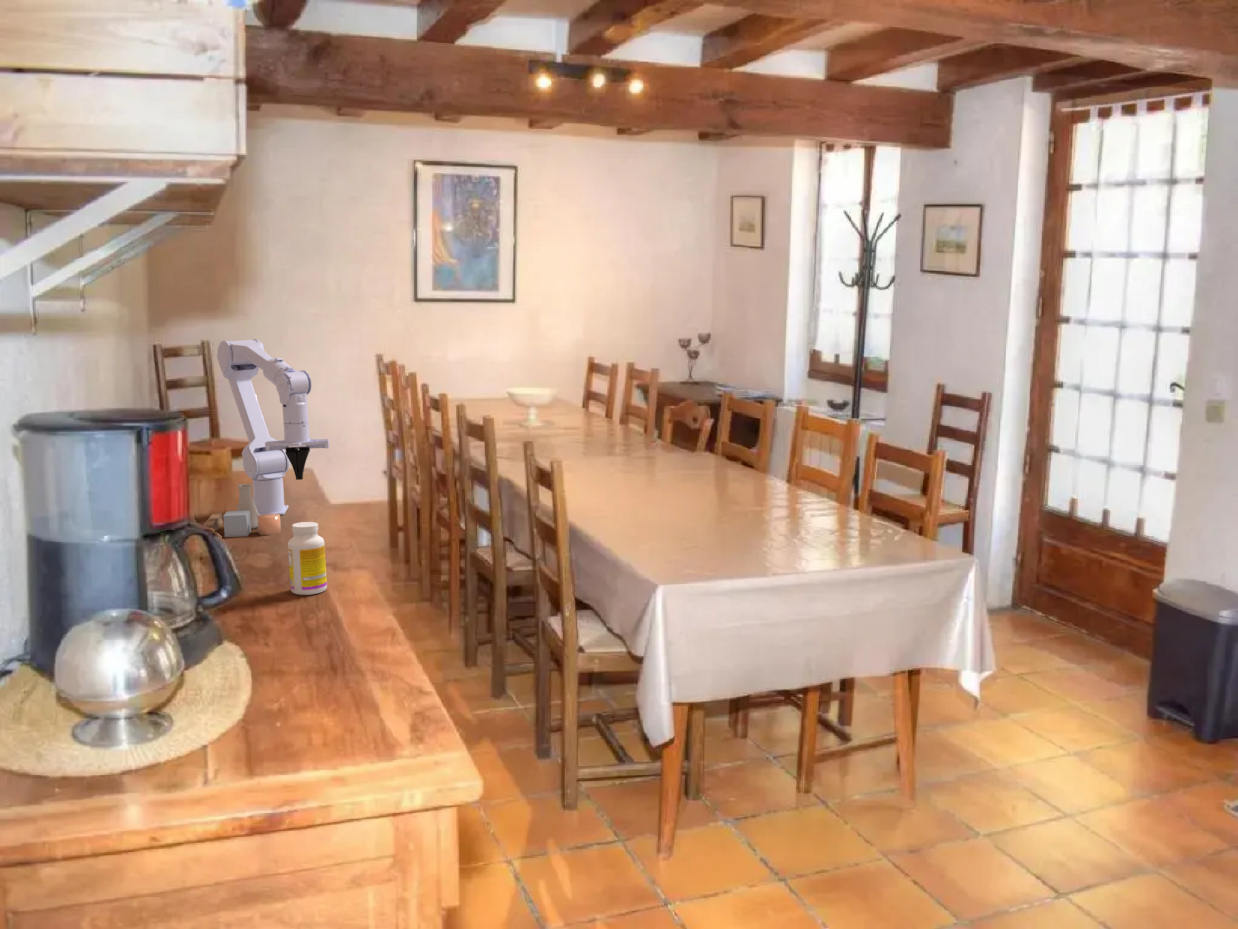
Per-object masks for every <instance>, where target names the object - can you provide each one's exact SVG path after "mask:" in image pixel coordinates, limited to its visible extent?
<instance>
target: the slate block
mask: <svg viewBox="0 0 1238 929" xmlns="http://www.w3.org/2000/svg"><path fill="white" fill-rule="evenodd" d="M222 519H223V530H224V538H230V537H231V538H233V537H234V538H235V537H248V536H250V533H251V531H252V529H251V522H250V510H247V511H236V510H229V511H226V512H225V513H224V514H223V515H222Z"/></svg>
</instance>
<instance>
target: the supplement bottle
mask: <svg viewBox="0 0 1238 929" xmlns="http://www.w3.org/2000/svg"><path fill="white" fill-rule="evenodd" d="M318 530H319V523H318V522H314V521H304V522H303V521H301V522H296V523H292V525H291V532H292V534H293V536H292V537H291V538H290V539H289V540H288V542H287V553H288V554H287V557H288V569H289V570H288V571H289V584H290V591H291V593H293V594H294V595H299V596H312V595H317V594H320V593H322V592H323V593H324V592H325V591H326V590H327V588H328V580H327V566H326V565H327V564H326V561H327V560H326V548H325V545H326V544H325V539H324V538H323V537H322V536H320V535H319V534H318Z"/></svg>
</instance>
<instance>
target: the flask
mask: <svg viewBox="0 0 1238 929" xmlns="http://www.w3.org/2000/svg"><path fill="white" fill-rule="evenodd" d="M252 488H253V483H252V484H251V483H243V484H238V485H237V489H238V492H239V493H238V494H239V496H238V503H237V506H236V510H235V511H247V510H250V522H251V530H252V529H256V528H257V529H258V520H257V516H259V513H258V511H257V508H256V506H255V504H254V498H253V493H252Z"/></svg>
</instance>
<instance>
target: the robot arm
mask: <svg viewBox="0 0 1238 929" xmlns="http://www.w3.org/2000/svg"><path fill="white" fill-rule="evenodd" d="M216 359H217V361H218V364H219V367H220V371H221V372H222V373H221V374H222V375H223V378H226V379H227V380H228V383H229V386H230V389H231V392H232V396H233V398H234V401H235V404H236V408H237V411H238V412H239V417H240V419H241V423H242V425H243V428H244V431H245V434H246V437H247V440H248V444H246V445H245V447H244V448H243V449H242V452H241V456H242V461H243V462H242V463H243V464H242V465H243V470H244V472H245V474H246V475H247V476H248V477H249V479H251V480H252V482H251V483H252V498H253V501H254V504H255V506H256V508H257V511H258V513H259V515H262V514H279V515H280V516H281V515H285V514H286V512H287V510H288V508H290V507H289V505H287V504H285V492H284V479H283V477H286V473H287V472H288V471H289V468H290V464H291V467H292V469H293V472H294V475H295V480H297V481H298V480H299V481H301V480H303V479H304V471H305V470H304V469H305V466H306V461H307V459H308V457H309V453H310V452H311V449H330V439H328V438H327V439H319V438H318V439H317V438H315V439H314V438H310V425H309V423H310V421H309V407H308V405H309V403H308V395H309V394H310V393H311V391H312V380H311V377H310V375H309V373H308V372H307V371H306V370H304V369H303V370H296V369H294V368H293V367H292V366H290V365H289V364H288V363H287V362H285V361H284V359H283V358H282V357H272V356H270V354H269V353H267V351H265V348H264V343H263V342H261V341H260V340H259V339H257V338H254V339H246V340H245V339H244V340H221V342H220V343H219V345H218V348H217V354H216ZM260 369H261V370H262V374H263V376H264V377H265V379H267V380H268V381H269V382H271V384H273V385H274V386H275V387H276V391H277V393H278V397H279V403H280V404H281V405H282V418H283V419H282V420H283V421H282V422H283V436H284V439H281V440H277V439H275V438H273V437H271V436H270V433H269V430H268V426H267V423H266V422H265V421H266V420H265V418H264V416H263V411H262V408H261V406H260V403H259V400H258V397H257V394H256V391H255V389H254V386H253V383H252V378H255V376H257V375H258V373H259V370H260Z"/></svg>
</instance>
